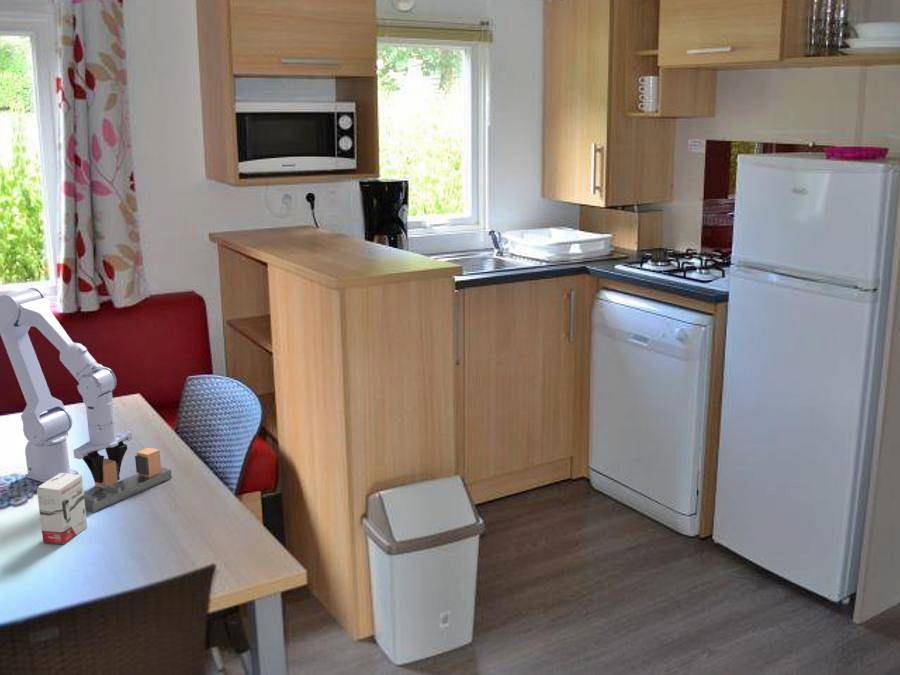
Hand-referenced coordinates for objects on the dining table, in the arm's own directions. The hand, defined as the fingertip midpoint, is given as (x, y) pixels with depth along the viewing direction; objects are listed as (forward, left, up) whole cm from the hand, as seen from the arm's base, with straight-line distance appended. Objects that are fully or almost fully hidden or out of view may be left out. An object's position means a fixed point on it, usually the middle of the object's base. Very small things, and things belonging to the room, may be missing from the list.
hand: (107, 478), depth 216 cm
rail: (+8, -1, -1) cm, 8 cm away
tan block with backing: (0, 0, -1) cm, 1 cm away
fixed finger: (+8, +6, +1) cm, 10 cm away
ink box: (+14, -22, -2) cm, 26 cm away
